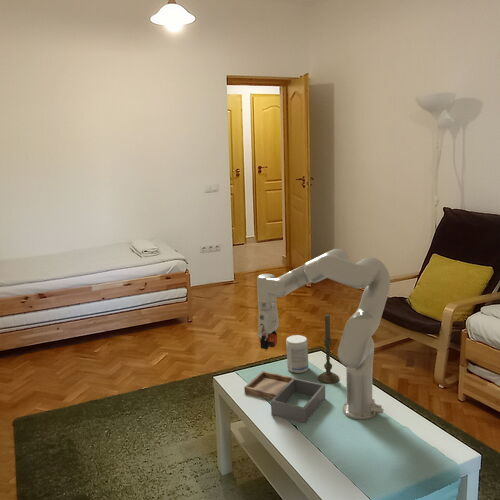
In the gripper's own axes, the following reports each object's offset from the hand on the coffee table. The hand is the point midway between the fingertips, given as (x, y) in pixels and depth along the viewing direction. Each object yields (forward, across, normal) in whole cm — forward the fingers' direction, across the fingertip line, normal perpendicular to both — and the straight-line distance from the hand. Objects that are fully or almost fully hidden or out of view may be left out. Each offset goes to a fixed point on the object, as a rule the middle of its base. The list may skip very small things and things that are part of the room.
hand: (269, 344), depth 200 cm
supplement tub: (+20, +21, -3) cm, 29 cm away
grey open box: (+20, -8, -17) cm, 27 cm away
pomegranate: (+1, 0, 0) cm, 1 cm away
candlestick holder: (+20, +18, -19) cm, 33 cm away
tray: (+20, 0, 0) cm, 20 cm away
